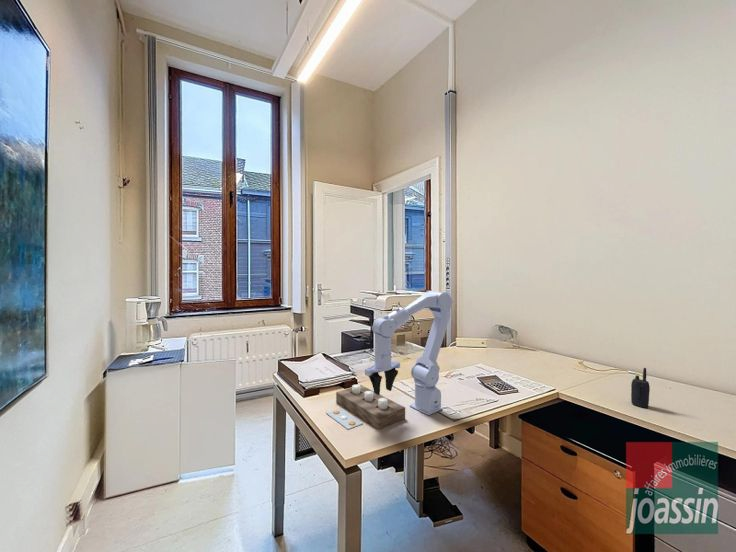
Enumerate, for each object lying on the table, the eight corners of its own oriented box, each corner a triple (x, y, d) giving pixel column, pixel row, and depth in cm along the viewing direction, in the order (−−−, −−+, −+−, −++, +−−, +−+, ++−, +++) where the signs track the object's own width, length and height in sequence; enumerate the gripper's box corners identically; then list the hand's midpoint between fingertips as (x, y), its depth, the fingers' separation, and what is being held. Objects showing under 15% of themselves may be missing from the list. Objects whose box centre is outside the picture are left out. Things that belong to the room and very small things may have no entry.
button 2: (389, 411, 112) (389, 400, 111) (382, 414, 110) (382, 402, 109) (383, 408, 114) (383, 397, 114) (376, 410, 112) (376, 399, 112)
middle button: (374, 403, 118) (374, 392, 118) (368, 406, 116) (368, 395, 116) (369, 400, 120) (369, 390, 120) (362, 402, 118) (362, 392, 118)
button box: (405, 418, 112) (405, 407, 111) (378, 429, 104) (378, 417, 104) (361, 394, 132) (361, 384, 132) (336, 402, 125) (336, 392, 125)
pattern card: (362, 424, 108) (362, 422, 108) (348, 429, 104) (348, 428, 104) (340, 409, 119) (340, 407, 119) (326, 413, 115) (326, 412, 115)
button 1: (362, 396, 124) (362, 386, 124) (355, 398, 122) (355, 388, 122) (357, 393, 127) (357, 383, 127) (350, 395, 125) (350, 385, 125)
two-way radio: (650, 407, 121) (652, 368, 120) (645, 410, 118) (646, 370, 118) (632, 402, 125) (634, 364, 125) (627, 404, 123) (628, 366, 123)
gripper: (391, 347, 119) (390, 383, 119) (359, 354, 110) (359, 393, 110) (404, 351, 113) (404, 389, 114) (372, 359, 104) (372, 400, 105)
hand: (382, 391), depth 112 cm, fingers open, 5 cm apart
